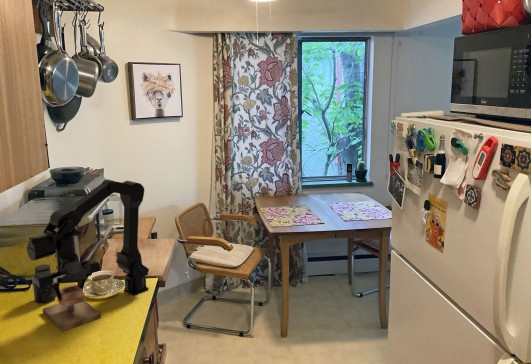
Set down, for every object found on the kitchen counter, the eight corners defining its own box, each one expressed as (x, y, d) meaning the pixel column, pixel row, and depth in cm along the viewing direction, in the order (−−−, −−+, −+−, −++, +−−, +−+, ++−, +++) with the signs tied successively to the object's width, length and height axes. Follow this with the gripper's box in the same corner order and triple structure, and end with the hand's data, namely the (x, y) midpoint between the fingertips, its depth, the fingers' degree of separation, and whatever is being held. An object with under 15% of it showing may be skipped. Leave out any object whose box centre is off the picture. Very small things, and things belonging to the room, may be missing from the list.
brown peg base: (79, 300, 153) (78, 282, 152) (101, 317, 142) (99, 298, 141) (42, 312, 145) (40, 294, 144) (62, 331, 134) (60, 311, 132)
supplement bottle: (30, 301, 152) (26, 268, 150) (47, 293, 158) (44, 261, 156) (43, 306, 149) (39, 272, 147) (61, 297, 155) (57, 265, 153)
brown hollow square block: (76, 295, 147) (75, 283, 146) (83, 301, 142) (82, 289, 142) (57, 301, 142) (56, 289, 142) (64, 307, 138) (63, 295, 138)
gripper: (43, 266, 127) (48, 317, 130) (106, 250, 140) (109, 296, 143) (30, 256, 135) (35, 304, 138) (90, 241, 148) (94, 285, 151)
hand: (70, 297), depth 142 cm, fingers closed on brown hollow square block, 6 cm apart
